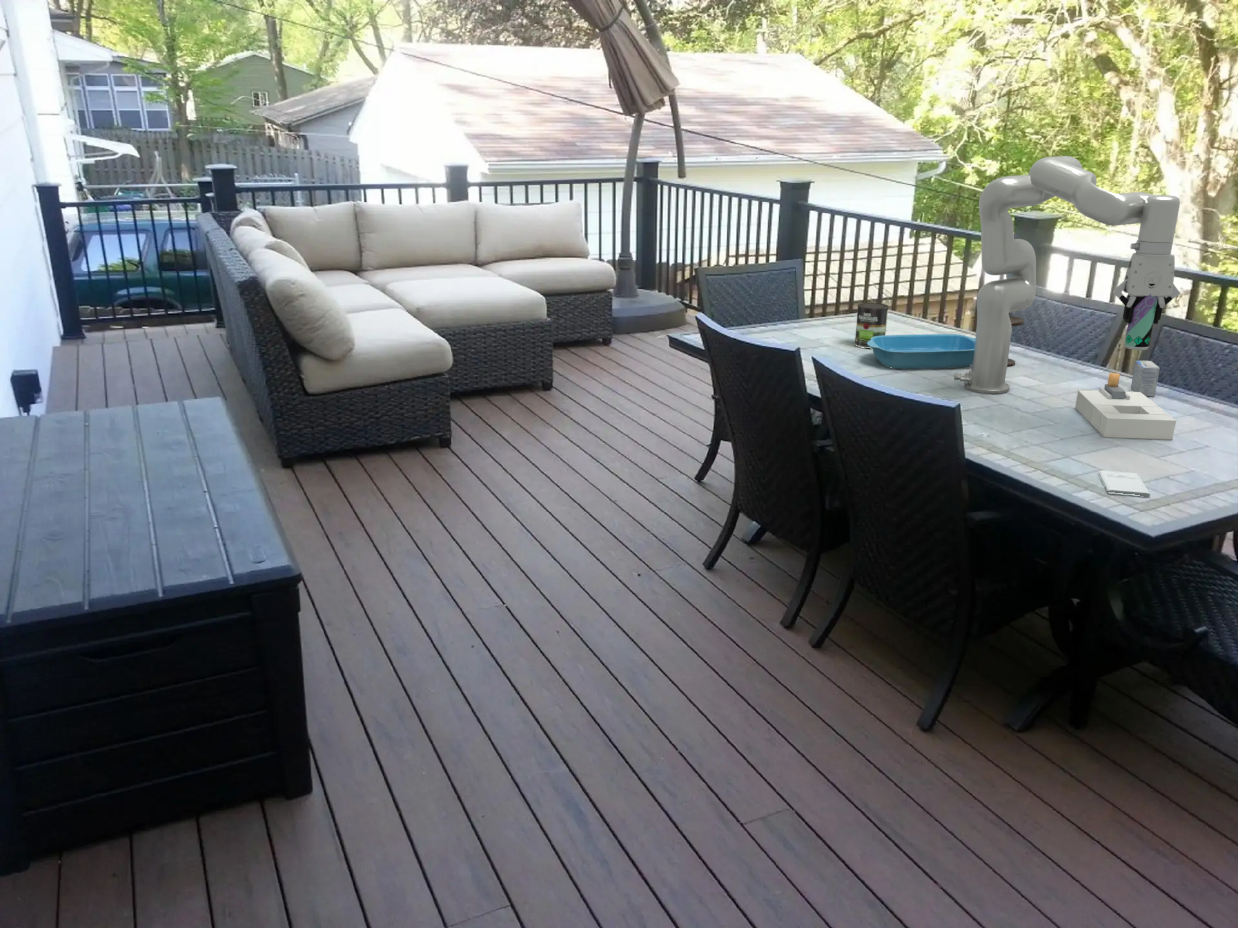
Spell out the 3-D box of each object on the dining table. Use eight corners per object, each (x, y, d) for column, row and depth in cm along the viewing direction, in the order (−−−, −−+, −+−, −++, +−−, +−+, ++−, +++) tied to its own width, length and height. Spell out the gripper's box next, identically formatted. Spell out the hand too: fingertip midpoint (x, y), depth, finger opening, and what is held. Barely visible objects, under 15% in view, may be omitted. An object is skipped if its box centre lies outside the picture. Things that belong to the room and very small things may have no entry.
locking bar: (1112, 398, 255) (1115, 379, 253) (1103, 391, 261) (1107, 372, 260) (1124, 398, 254) (1127, 379, 253) (1115, 391, 261) (1118, 373, 259)
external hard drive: (1107, 496, 207) (1097, 476, 219) (1149, 500, 205) (1137, 479, 216) (1108, 489, 207) (1098, 469, 218) (1150, 493, 205) (1138, 472, 216)
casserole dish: (875, 372, 302) (877, 350, 299) (858, 355, 323) (859, 334, 320) (992, 371, 302) (995, 348, 299) (967, 353, 323) (970, 332, 320)
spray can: (1119, 345, 243) (1133, 265, 236) (1140, 344, 243) (1154, 265, 236) (1132, 350, 238) (1146, 269, 231) (1153, 349, 238) (1168, 268, 231)
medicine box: (1154, 397, 273) (1160, 367, 270) (1137, 396, 274) (1143, 367, 271) (1146, 389, 280) (1152, 360, 277) (1129, 388, 281) (1135, 360, 278)
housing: (1104, 437, 241) (1108, 414, 239) (1075, 407, 265) (1078, 386, 262) (1172, 439, 239) (1177, 416, 237) (1137, 409, 262) (1141, 388, 260)
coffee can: (878, 350, 327) (882, 309, 322) (849, 346, 332) (852, 306, 327) (889, 344, 335) (893, 304, 330) (861, 341, 340) (864, 301, 335)
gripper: (1121, 250, 230) (1108, 325, 236) (1198, 251, 227) (1183, 326, 234) (1111, 246, 237) (1099, 318, 243) (1186, 246, 234) (1172, 320, 241)
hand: (1140, 321), depth 238 cm, fingers closed on spray can, 5 cm apart
